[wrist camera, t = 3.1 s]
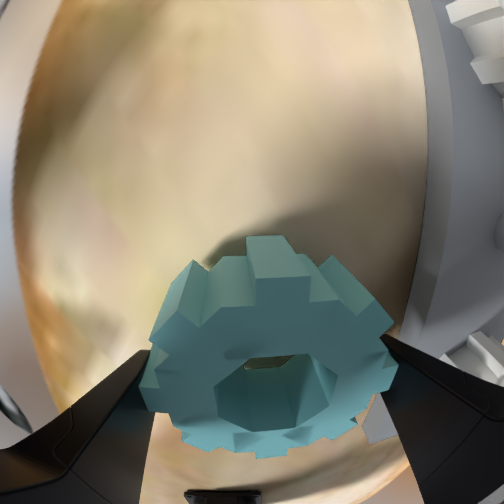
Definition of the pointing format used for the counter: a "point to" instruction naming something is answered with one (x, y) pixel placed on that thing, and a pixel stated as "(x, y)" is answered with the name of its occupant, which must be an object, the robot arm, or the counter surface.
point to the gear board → (459, 196)
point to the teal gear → (266, 351)
